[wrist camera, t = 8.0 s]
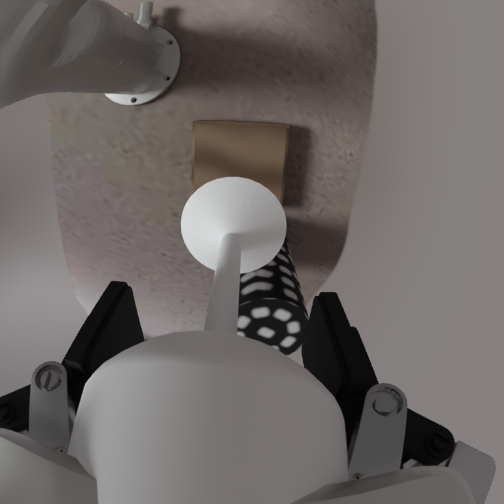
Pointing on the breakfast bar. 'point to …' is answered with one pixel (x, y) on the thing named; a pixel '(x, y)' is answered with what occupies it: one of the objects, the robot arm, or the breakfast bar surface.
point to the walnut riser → (240, 153)
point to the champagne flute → (212, 387)
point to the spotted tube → (273, 304)
